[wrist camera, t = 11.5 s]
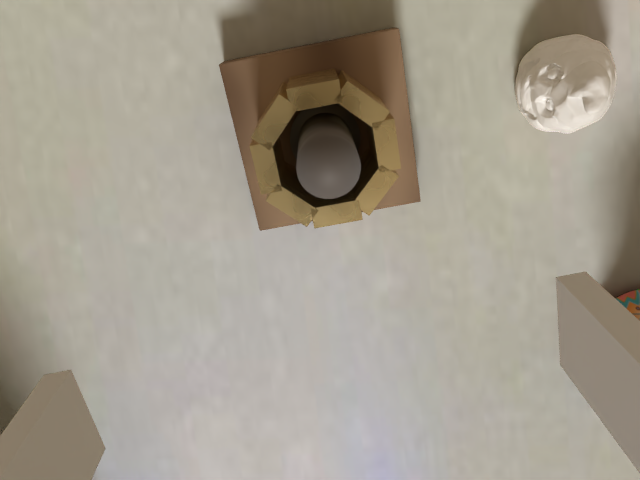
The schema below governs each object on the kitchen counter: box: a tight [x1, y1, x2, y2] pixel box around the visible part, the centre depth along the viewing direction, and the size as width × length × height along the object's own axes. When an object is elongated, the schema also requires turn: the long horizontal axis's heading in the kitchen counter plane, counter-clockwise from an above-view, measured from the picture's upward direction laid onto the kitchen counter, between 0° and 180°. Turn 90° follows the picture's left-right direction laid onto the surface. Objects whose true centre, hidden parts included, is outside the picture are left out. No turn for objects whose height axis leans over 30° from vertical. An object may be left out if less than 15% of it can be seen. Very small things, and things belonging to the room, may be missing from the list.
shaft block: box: [219, 28, 420, 231], centre depth 30 cm, size 10×10×9 cm
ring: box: [250, 69, 401, 228], centre depth 30 cm, size 7×7×5 cm
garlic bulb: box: [515, 34, 617, 134], centre depth 31 cm, size 6×6×5 cm
